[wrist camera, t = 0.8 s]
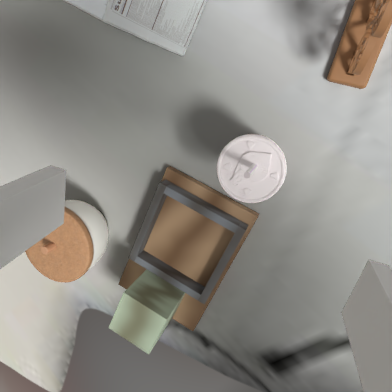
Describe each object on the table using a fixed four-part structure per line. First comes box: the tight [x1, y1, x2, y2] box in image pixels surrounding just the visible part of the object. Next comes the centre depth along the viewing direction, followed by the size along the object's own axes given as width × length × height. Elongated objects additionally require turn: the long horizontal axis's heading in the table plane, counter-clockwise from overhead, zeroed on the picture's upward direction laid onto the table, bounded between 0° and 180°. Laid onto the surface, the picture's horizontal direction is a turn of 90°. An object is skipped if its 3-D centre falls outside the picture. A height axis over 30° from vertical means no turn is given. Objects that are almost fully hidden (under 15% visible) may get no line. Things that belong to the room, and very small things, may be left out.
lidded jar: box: [25, 200, 109, 282], centre depth 44 cm, size 11×11×9 cm
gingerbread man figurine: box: [327, 0, 392, 89], centre depth 26 cm, size 9×4×12 cm, turn 165°
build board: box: [109, 166, 259, 354], centre depth 40 cm, size 13×20×9 cm, turn 155°
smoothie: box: [217, 134, 287, 203], centre depth 31 cm, size 6×6×14 cm
